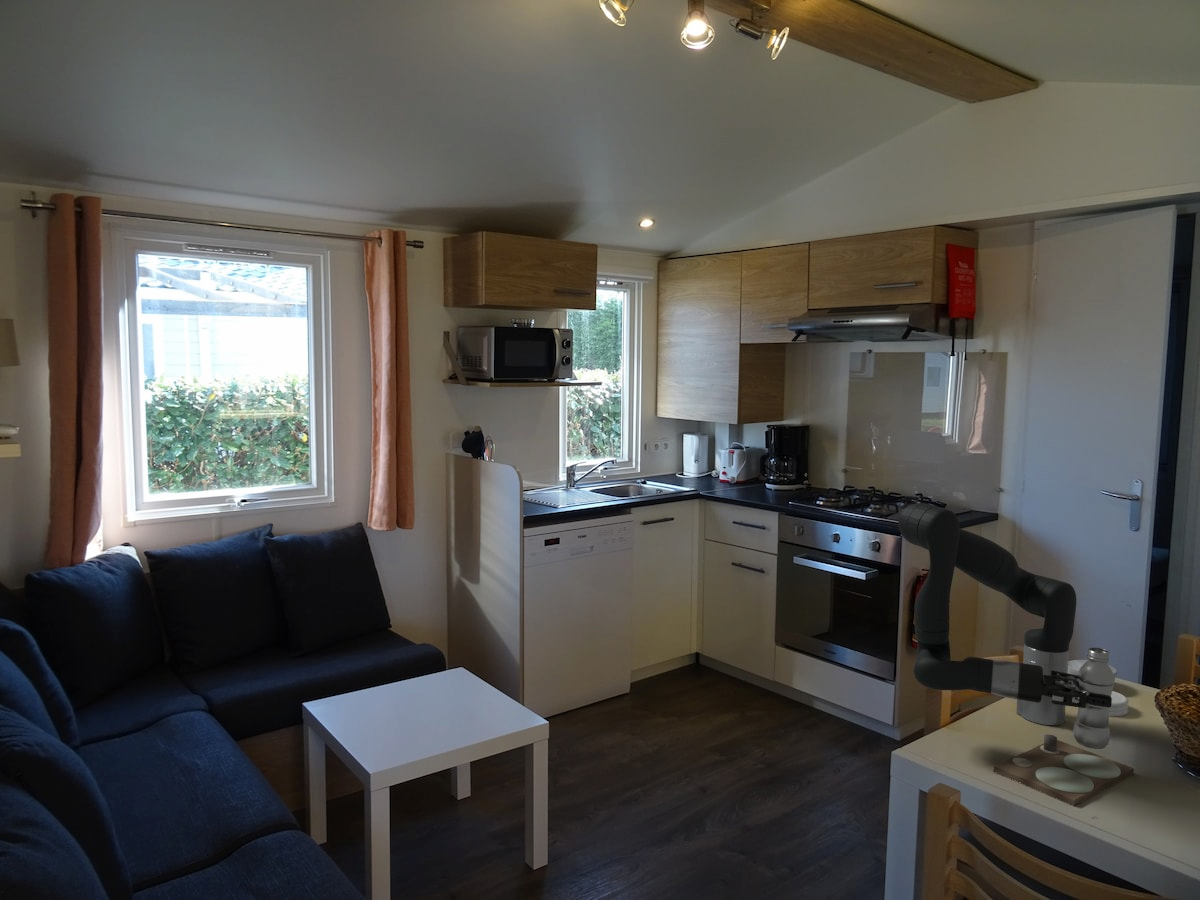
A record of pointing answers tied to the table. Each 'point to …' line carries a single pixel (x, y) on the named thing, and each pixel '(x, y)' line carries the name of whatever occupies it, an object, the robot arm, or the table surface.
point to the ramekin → (1077, 664)
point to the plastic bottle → (1094, 718)
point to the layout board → (1064, 770)
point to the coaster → (1118, 705)
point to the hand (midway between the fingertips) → (1109, 695)
